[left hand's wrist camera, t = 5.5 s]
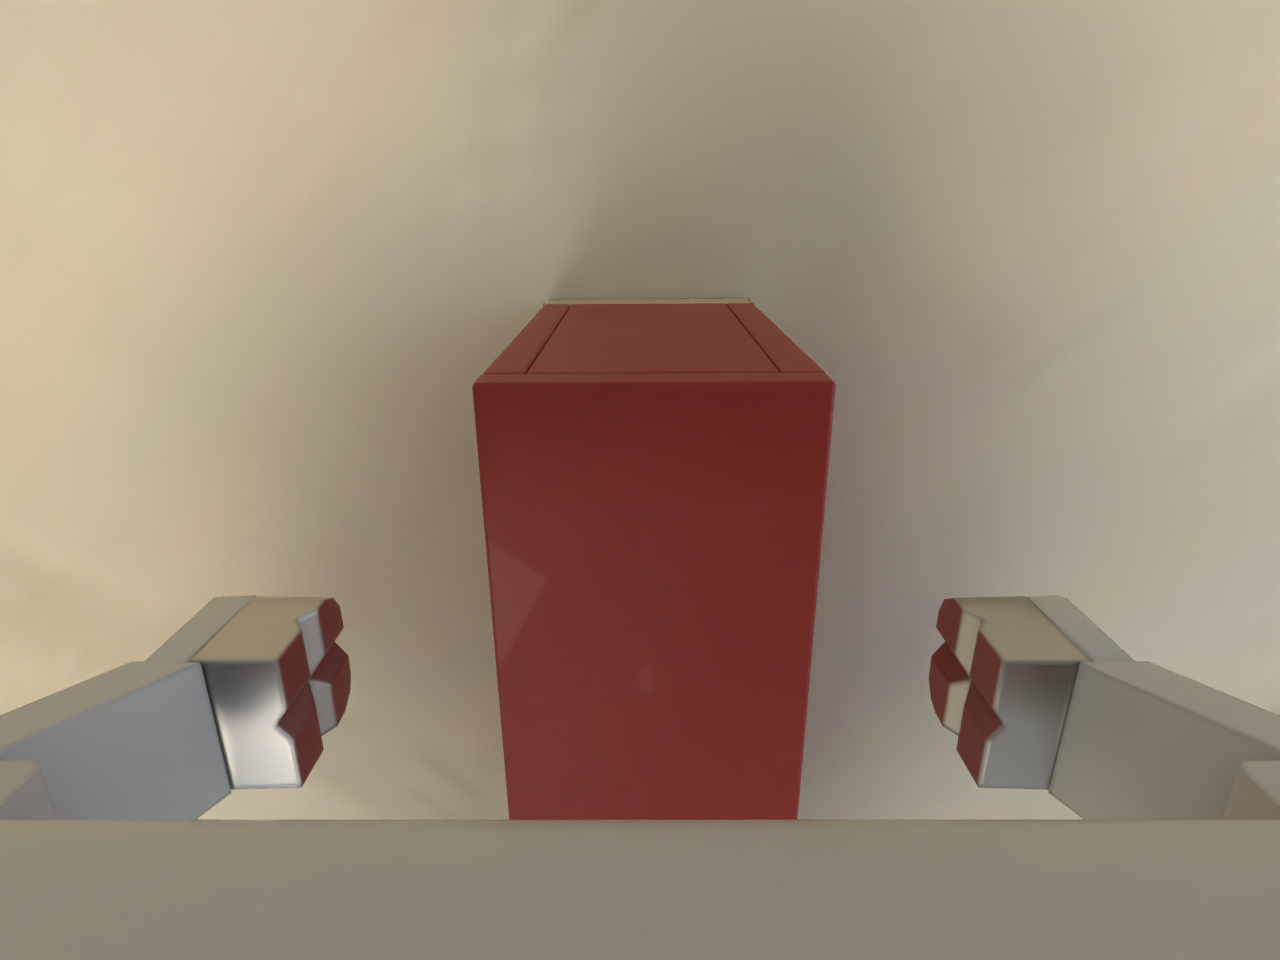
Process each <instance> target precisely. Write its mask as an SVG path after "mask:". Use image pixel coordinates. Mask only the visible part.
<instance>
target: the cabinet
mask: <svg viewBox="0 0 1280 960" xmlns="http://www.w3.org/2000/svg"><path fill="white" fill-rule="evenodd" d="M472 389H473V400H474V412H475V424H476V435H477V447H478V459H479V470H480V482H481V493H482V505H483V517H484V528H485V540H486V552H487V563H488V575H489V587H490V598H491V610H492V621H493V633H494V645H495V656H496V668H497V680H498V691H499V703H500V715H501V726H502V738H503V749H504V761H505V773H506V784H507V796H508V808H509V819H510V820H797V815H798V804H799V793H800V781H801V770H802V759H803V747H804V736H805V725H806V713H807V702H808V691H809V679H810V668H811V657H812V645H813V634H814V623H815V611H816V600H817V589H818V577H819V566H820V555H821V543H822V532H823V521H824V509H825V498H826V487H827V475H828V464H829V453H830V441H831V430H832V419H833V408H834V396H835V383H834V381H833V380H832V379H831V378H830V377H829V376H827V375H826V374H825V372H824V371H823V370H822V369H821V368H820V367H819V366H818V365H817V364H816V363H815V362H814V361H813V360H812V359H810V358H809V357H808V356H807V355H806V354H805V353H804V352H803V351H802V350H801V349H800V348H799V347H798V346H797V345H796V344H795V343H794V342H793V341H792V340H790V339H789V338H788V337H787V336H786V335H785V334H784V333H783V332H782V331H781V330H780V329H779V328H778V327H777V326H776V325H775V324H774V323H773V322H771V321H770V320H769V319H768V318H767V317H766V316H765V315H764V314H763V313H762V312H761V311H760V310H759V309H758V308H757V307H756V306H755V305H754V303H753V302H752V301H751V300H750V299H564V300H547V301H546V302H545V303H544V307H543V308H542V309H541V310H540V311H539V312H538V314H537V315H536V316H535V317H534V318H533V319H532V320H531V321H530V322H529V323H528V325H527V326H526V327H525V328H524V329H523V330H522V331H521V332H520V333H519V335H518V336H517V337H516V338H515V339H514V340H513V341H512V342H511V343H510V344H509V346H508V347H507V348H506V349H505V350H504V351H503V352H502V353H501V354H500V356H499V357H498V358H497V359H496V360H495V361H494V362H493V363H492V364H491V366H490V367H489V368H488V369H487V370H486V371H485V372H484V373H483V375H481V376H480V377H479V378H478V379H477V380H476V382H475V383H474V384H473V387H472Z"/></svg>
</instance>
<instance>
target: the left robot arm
mask: <svg viewBox="0 0 1280 960" xmlns="http://www.w3.org/2000/svg"><path fill="white" fill-rule="evenodd" d="M343 628H344V626H343V621H342V616H341V611H340V606H339V604H338V603H337V602H336V601H335V600H334V599H333V598H316V597H262V596H261V597H257V596H224V597H216V598H213V599H212V600H211V601H210V602H209V603H208V604H207V605H206V606H205V607H203V608H202V609H201V610H200V611H199V612H198V613H197V614H196V615H195V616H194V617H193V618H191V619H190V620H189V621H188V622H187V623H186V624H185V625H184V626H183V627H182V628H181V629H179V630H178V631H177V632H176V633H175V634H174V635H173V636H172V637H171V638H170V639H169V640H168V641H166V642H165V643H164V644H163V645H162V646H161V647H160V648H159V649H158V650H157V651H156V652H154V653H153V654H152V655H151V656H150V657H149V658H148V659H147V660H146V661H145V662H130V663H128V664H125V665H123V666H120V667H118V668H115V669H113V670H111V671H108V672H106V673H103V674H101V675H98V676H96V677H93V678H91V679H89V680H86V681H84V682H81V683H79V684H76V685H74V686H71V687H69V688H67V689H64V690H62V691H59V692H57V693H54V694H52V695H49V696H47V697H45V698H42V699H40V700H37V701H35V702H32V703H30V704H27V705H25V706H23V707H20V708H18V709H15V710H13V711H10V712H8V713H5V714H3V715H1V716H0V960H1280V716H1279V715H1277V714H1274V713H1272V712H1269V711H1267V710H1264V709H1262V708H1260V707H1257V706H1255V705H1252V704H1250V703H1247V702H1245V701H1243V700H1240V699H1238V698H1235V697H1233V696H1230V695H1228V694H1225V693H1223V692H1221V691H1218V690H1216V689H1213V688H1211V687H1208V686H1206V685H1204V684H1201V683H1199V682H1196V681H1194V680H1191V679H1189V678H1186V677H1184V676H1182V675H1179V674H1177V673H1174V672H1172V671H1169V670H1167V669H1165V668H1162V667H1160V666H1157V665H1155V664H1152V663H1150V662H1135V661H1134V660H1133V659H1132V658H1131V657H1130V656H1129V655H1128V654H1127V653H1126V652H1125V651H1123V650H1122V649H1121V648H1120V647H1119V646H1118V645H1117V644H1116V643H1115V642H1114V641H1113V640H1111V639H1110V638H1109V637H1108V636H1107V635H1106V634H1105V633H1104V632H1103V631H1102V630H1101V629H1100V628H1098V627H1097V626H1096V625H1095V624H1094V623H1093V622H1092V621H1091V620H1090V619H1089V618H1088V617H1087V616H1085V615H1084V614H1083V613H1082V612H1081V611H1080V610H1079V609H1078V608H1077V607H1076V606H1075V605H1074V604H1072V603H1071V602H1070V601H1069V600H1068V599H1067V598H1064V597H1060V596H1034V597H1026V596H1021V597H980V598H951V599H945V600H944V601H943V603H942V605H941V608H940V610H939V614H938V620H937V626H936V628H937V629H938V631H939V632H940V634H941V635H942V637H943V639H944V640H945V643H944V644H943V645H942V646H941V647H940V648H939V649H938V650H937V651H936V652H935V653H934V654H933V655H932V657H931V665H930V673H929V683H930V694H931V700H932V703H933V706H934V709H935V713H936V714H937V716H938V718H939V720H940V722H941V724H942V725H943V726H944V727H945V728H947V729H948V730H950V731H952V732H953V733H955V734H956V735H958V736H959V738H958V744H957V751H958V753H959V755H960V757H961V758H962V760H963V762H964V763H965V765H966V767H967V769H968V770H969V772H970V774H971V775H972V777H973V779H974V780H975V782H976V784H977V786H978V787H981V788H1018V789H1049V791H1048V793H1050V794H1051V795H1052V796H1054V797H1055V798H1056V799H1058V800H1059V801H1060V802H1062V803H1063V804H1064V805H1066V806H1067V807H1068V808H1070V809H1071V810H1072V811H1074V812H1075V813H1076V814H1078V815H1079V816H1080V817H1082V818H1083V819H1084V820H196V819H197V818H198V817H200V816H201V815H202V814H204V813H205V812H206V811H208V810H209V809H210V808H212V807H213V806H214V805H216V804H217V803H218V802H220V801H221V800H222V799H224V798H225V797H226V796H228V795H229V794H230V793H231V789H261V788H297V787H302V786H303V784H304V782H305V781H306V779H307V777H308V775H309V774H310V772H311V770H312V769H313V767H314V765H315V763H316V762H317V760H318V758H319V757H320V755H321V753H322V751H323V744H322V738H321V736H322V735H324V734H325V733H327V732H328V731H330V730H332V729H333V728H335V727H336V726H337V725H338V724H339V722H340V720H341V718H342V716H343V714H344V712H345V710H346V706H347V702H348V698H349V694H350V685H351V671H350V664H349V657H348V655H347V654H346V653H345V652H344V651H343V650H342V649H341V648H340V647H339V646H338V645H337V644H336V643H335V640H336V639H337V637H338V635H339V634H340V632H341V631H342V629H343Z"/></svg>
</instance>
